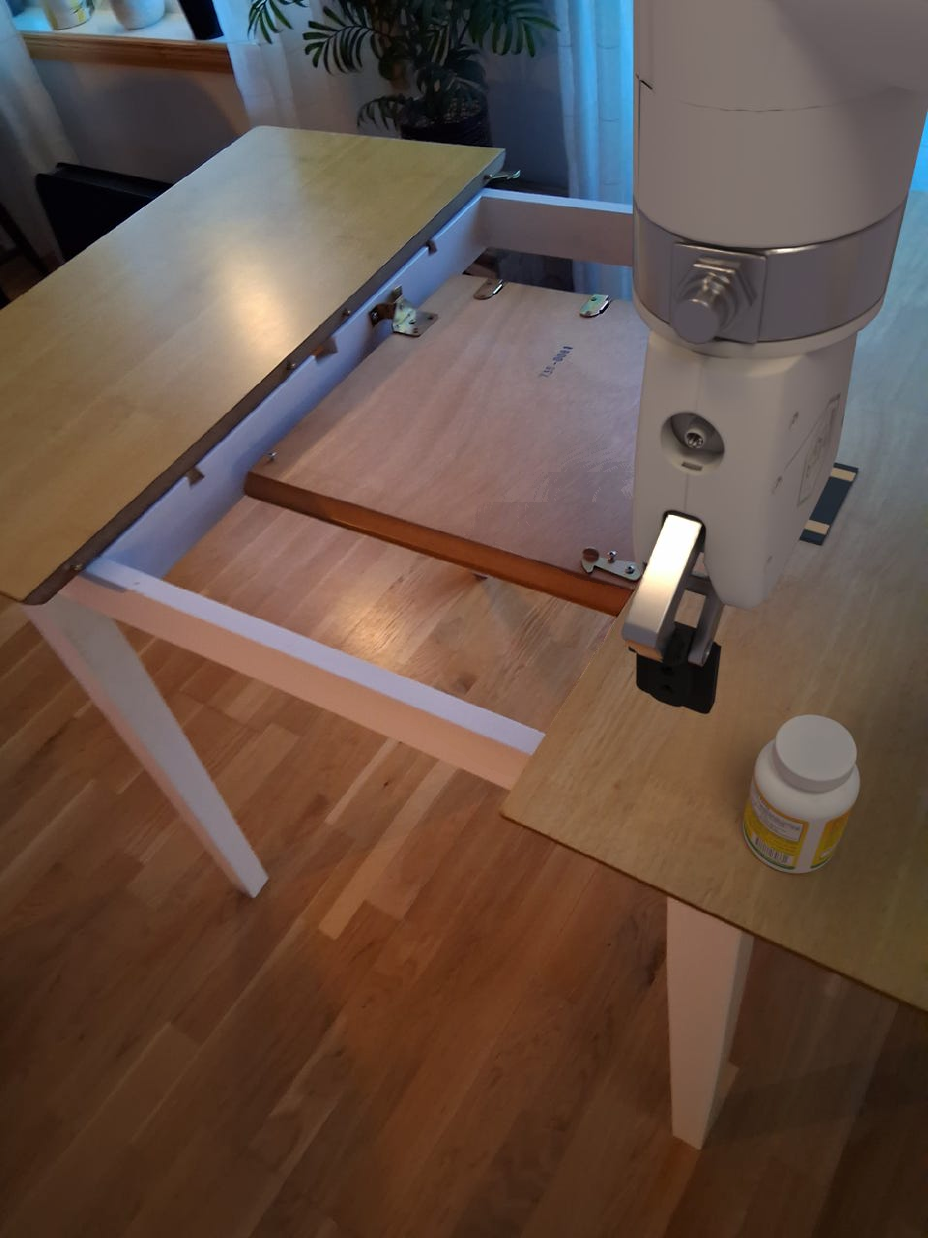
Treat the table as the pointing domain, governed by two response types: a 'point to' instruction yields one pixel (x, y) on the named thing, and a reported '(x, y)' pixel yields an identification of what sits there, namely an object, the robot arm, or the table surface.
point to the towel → (829, 503)
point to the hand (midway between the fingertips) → (718, 615)
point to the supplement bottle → (802, 794)
